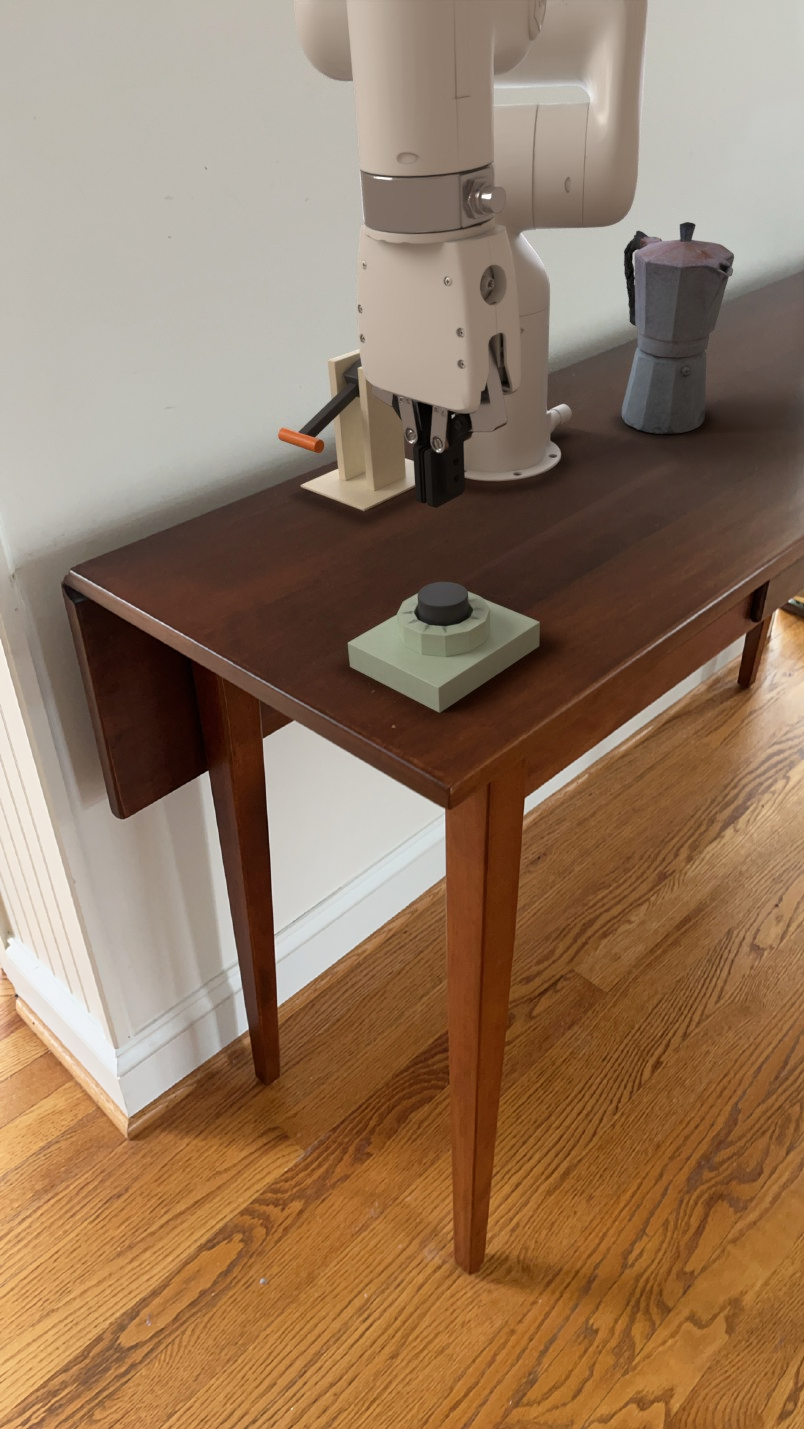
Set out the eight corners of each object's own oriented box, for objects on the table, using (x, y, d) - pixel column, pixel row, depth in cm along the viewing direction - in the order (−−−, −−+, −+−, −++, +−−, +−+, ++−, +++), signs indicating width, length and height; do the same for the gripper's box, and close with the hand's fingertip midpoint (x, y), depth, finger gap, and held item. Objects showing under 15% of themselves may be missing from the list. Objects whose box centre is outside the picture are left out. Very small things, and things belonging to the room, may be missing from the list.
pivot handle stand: (365, 520, 95) (353, 384, 88) (301, 496, 101) (285, 365, 93) (444, 482, 101) (440, 351, 94) (380, 460, 107) (371, 335, 99)
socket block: (450, 608, 82) (448, 563, 79) (539, 647, 76) (540, 600, 74) (349, 667, 75) (345, 621, 73) (439, 714, 70) (437, 665, 68)
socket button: (442, 597, 76) (441, 576, 75) (478, 613, 74) (478, 591, 73) (408, 616, 74) (407, 595, 73) (445, 633, 72) (444, 611, 71)
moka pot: (679, 451, 104) (702, 240, 93) (578, 411, 115) (587, 217, 103) (743, 428, 108) (773, 222, 97) (640, 391, 119) (656, 202, 107)
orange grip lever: (320, 461, 91) (309, 440, 89) (283, 448, 94) (273, 427, 92) (397, 384, 94) (389, 362, 93) (360, 374, 97) (351, 353, 96)
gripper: (575, 200, 56) (563, 508, 67) (382, 176, 64) (400, 452, 75) (485, 230, 52) (489, 552, 63) (292, 200, 60) (325, 488, 71)
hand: (440, 497), depth 69 cm, fingers closed
